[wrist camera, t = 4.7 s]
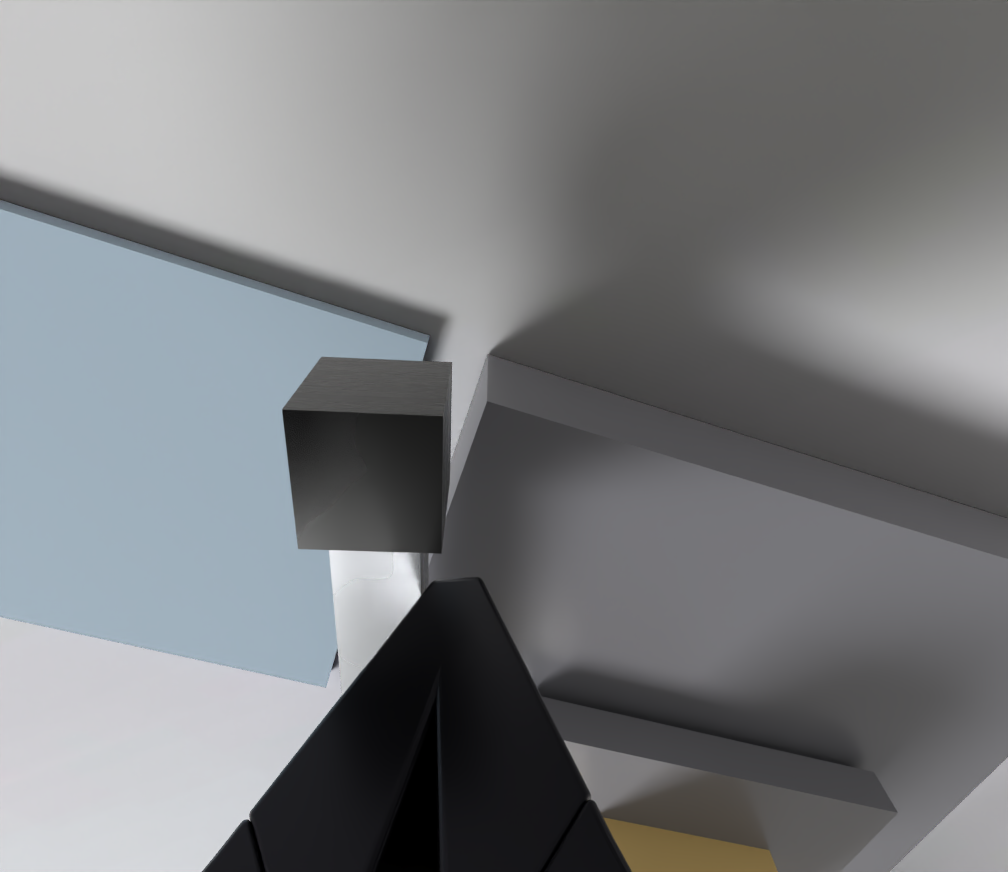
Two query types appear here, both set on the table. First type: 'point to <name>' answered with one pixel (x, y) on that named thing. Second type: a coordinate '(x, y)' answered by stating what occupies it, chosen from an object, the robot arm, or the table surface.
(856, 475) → the socket plate
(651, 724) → the plug
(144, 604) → the mat
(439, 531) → the metal lever bar
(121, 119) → the table surface
